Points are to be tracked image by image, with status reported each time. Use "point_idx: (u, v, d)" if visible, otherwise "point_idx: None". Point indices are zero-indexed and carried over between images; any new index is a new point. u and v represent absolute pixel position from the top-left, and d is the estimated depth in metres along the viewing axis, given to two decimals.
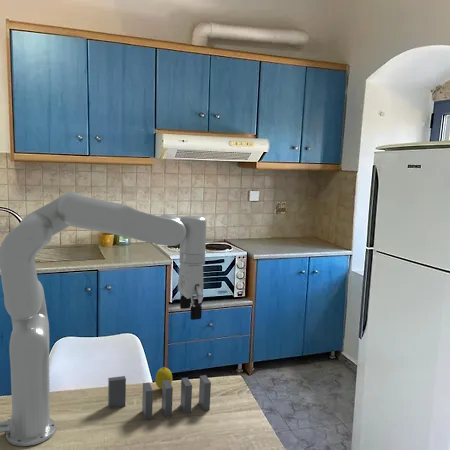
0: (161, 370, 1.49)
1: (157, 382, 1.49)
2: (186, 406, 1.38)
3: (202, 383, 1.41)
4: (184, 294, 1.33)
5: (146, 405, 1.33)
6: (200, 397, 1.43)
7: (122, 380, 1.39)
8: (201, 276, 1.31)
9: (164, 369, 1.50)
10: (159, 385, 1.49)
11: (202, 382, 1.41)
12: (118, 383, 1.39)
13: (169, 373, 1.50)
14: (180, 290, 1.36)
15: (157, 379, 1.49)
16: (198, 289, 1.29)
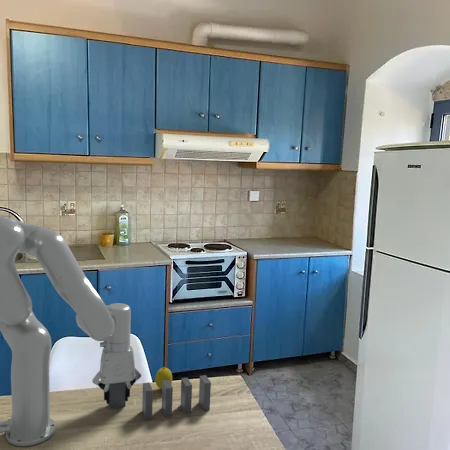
0: (161, 370, 1.49)
1: (157, 382, 1.49)
2: (186, 406, 1.38)
3: (202, 383, 1.41)
4: (125, 379, 1.38)
5: (146, 405, 1.33)
6: (200, 397, 1.43)
7: None
8: None
9: (164, 369, 1.50)
10: (159, 385, 1.49)
11: (202, 382, 1.41)
12: (118, 383, 1.39)
13: (169, 373, 1.50)
14: (112, 381, 1.36)
15: (157, 379, 1.49)
16: (136, 369, 1.41)
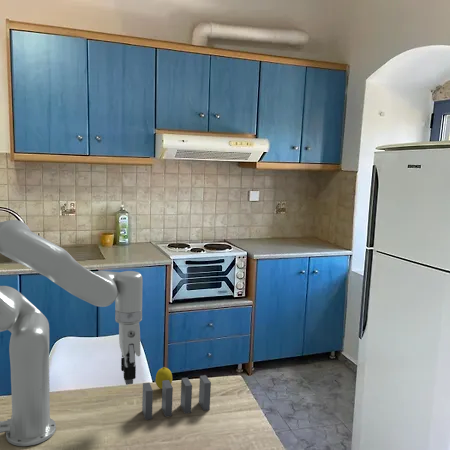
0: (161, 370, 1.49)
1: (157, 382, 1.49)
2: (186, 406, 1.38)
3: (202, 383, 1.41)
4: None
5: (146, 405, 1.33)
6: (200, 397, 1.43)
7: None
8: None
9: (164, 369, 1.50)
10: (159, 385, 1.49)
11: (202, 382, 1.41)
12: None
13: (169, 373, 1.50)
14: None
15: (157, 379, 1.49)
16: None
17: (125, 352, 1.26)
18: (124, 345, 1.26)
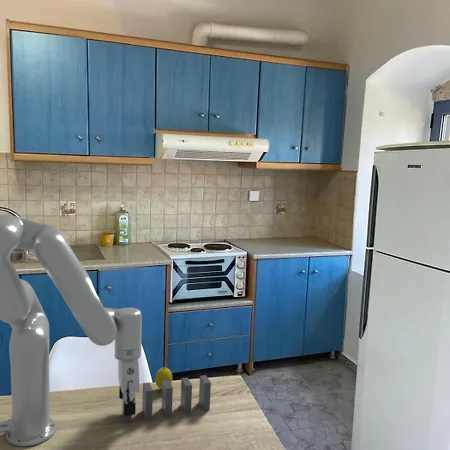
0: (161, 370, 1.49)
1: (157, 382, 1.49)
2: (186, 406, 1.38)
3: (202, 383, 1.41)
4: None
5: (146, 405, 1.33)
6: (200, 397, 1.43)
7: None
8: None
9: (164, 369, 1.50)
10: (159, 385, 1.49)
11: (202, 382, 1.41)
12: None
13: (169, 373, 1.50)
14: None
15: (157, 379, 1.49)
16: None
17: (124, 385, 1.27)
18: (123, 382, 1.27)
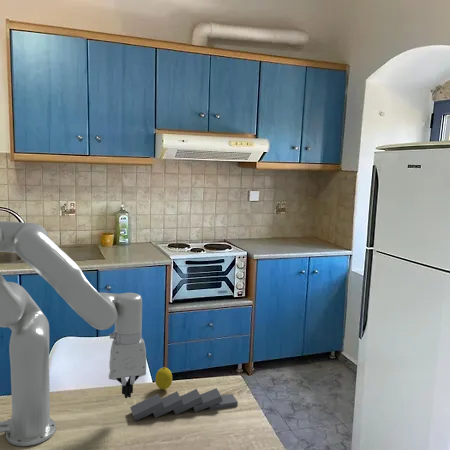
0: (161, 370, 1.49)
1: (157, 382, 1.49)
2: (201, 405, 1.39)
3: (233, 399, 1.45)
4: (136, 373, 1.30)
5: (167, 406, 1.36)
6: None
7: None
8: None
9: (164, 369, 1.50)
10: (159, 385, 1.49)
11: (233, 398, 1.45)
12: None
13: (169, 373, 1.50)
14: (123, 374, 1.29)
15: (157, 379, 1.49)
16: None
17: None
18: None
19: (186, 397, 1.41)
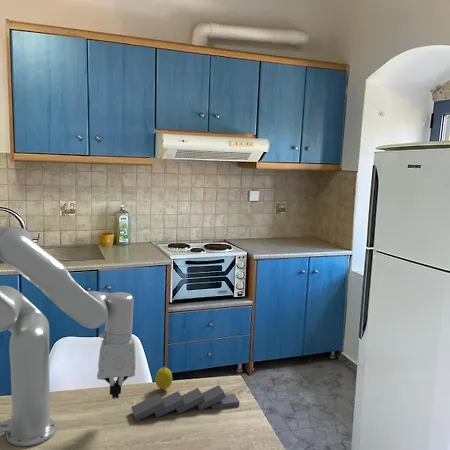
0: (161, 370, 1.49)
1: (157, 382, 1.49)
2: (205, 403, 1.40)
3: (234, 399, 1.45)
4: (125, 373, 1.29)
5: (169, 406, 1.36)
6: None
7: None
8: None
9: (164, 369, 1.50)
10: (159, 385, 1.49)
11: (234, 398, 1.46)
12: None
13: (169, 373, 1.50)
14: (111, 374, 1.28)
15: (157, 379, 1.49)
16: None
17: None
18: None
19: (188, 396, 1.42)
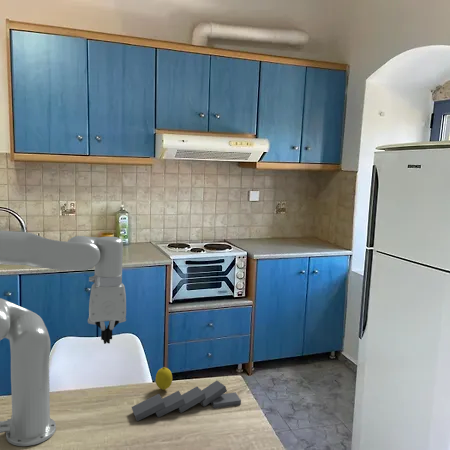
0: (161, 370, 1.49)
1: (157, 382, 1.49)
2: (208, 398, 1.42)
3: (236, 397, 1.46)
4: (116, 318, 1.29)
5: (170, 405, 1.36)
6: (218, 397, 1.46)
7: None
8: None
9: (164, 369, 1.50)
10: (159, 385, 1.49)
11: (236, 397, 1.46)
12: None
13: (169, 373, 1.50)
14: (102, 318, 1.28)
15: (157, 379, 1.49)
16: None
17: None
18: None
19: (189, 395, 1.42)
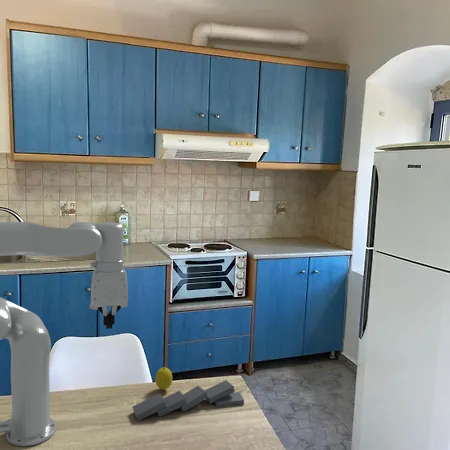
0: (161, 370, 1.49)
1: (157, 382, 1.49)
2: (215, 396, 1.43)
3: (239, 397, 1.46)
4: (118, 303, 1.29)
5: (171, 405, 1.37)
6: None
7: None
8: None
9: (164, 369, 1.50)
10: (159, 385, 1.49)
11: (239, 396, 1.47)
12: None
13: (169, 373, 1.50)
14: (104, 303, 1.28)
15: (157, 379, 1.49)
16: None
17: None
18: None
19: (190, 394, 1.43)
